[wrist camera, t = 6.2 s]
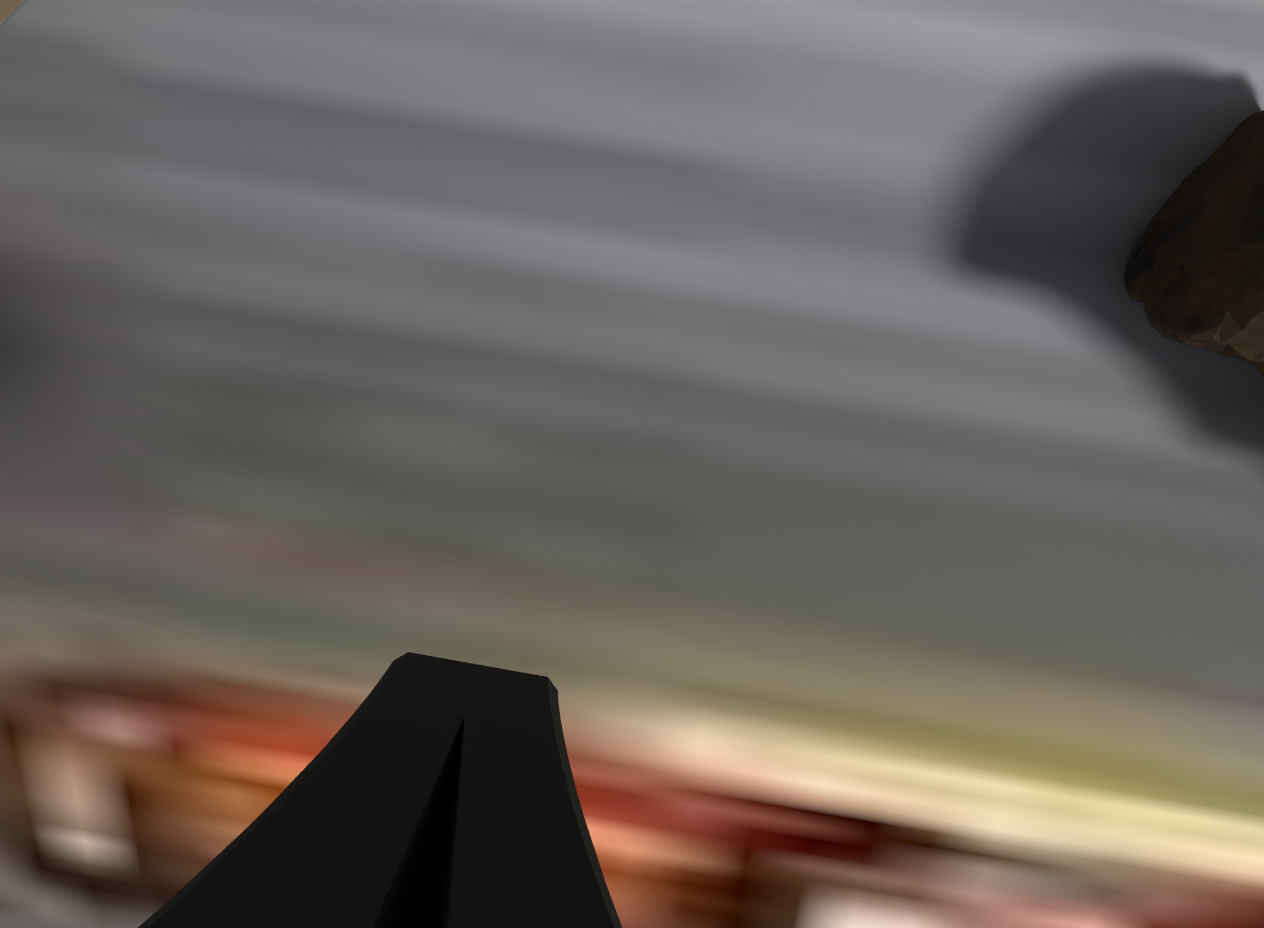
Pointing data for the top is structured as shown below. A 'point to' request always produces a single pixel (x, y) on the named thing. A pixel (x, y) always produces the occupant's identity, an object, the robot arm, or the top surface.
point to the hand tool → (1209, 253)
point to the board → (8, 8)
